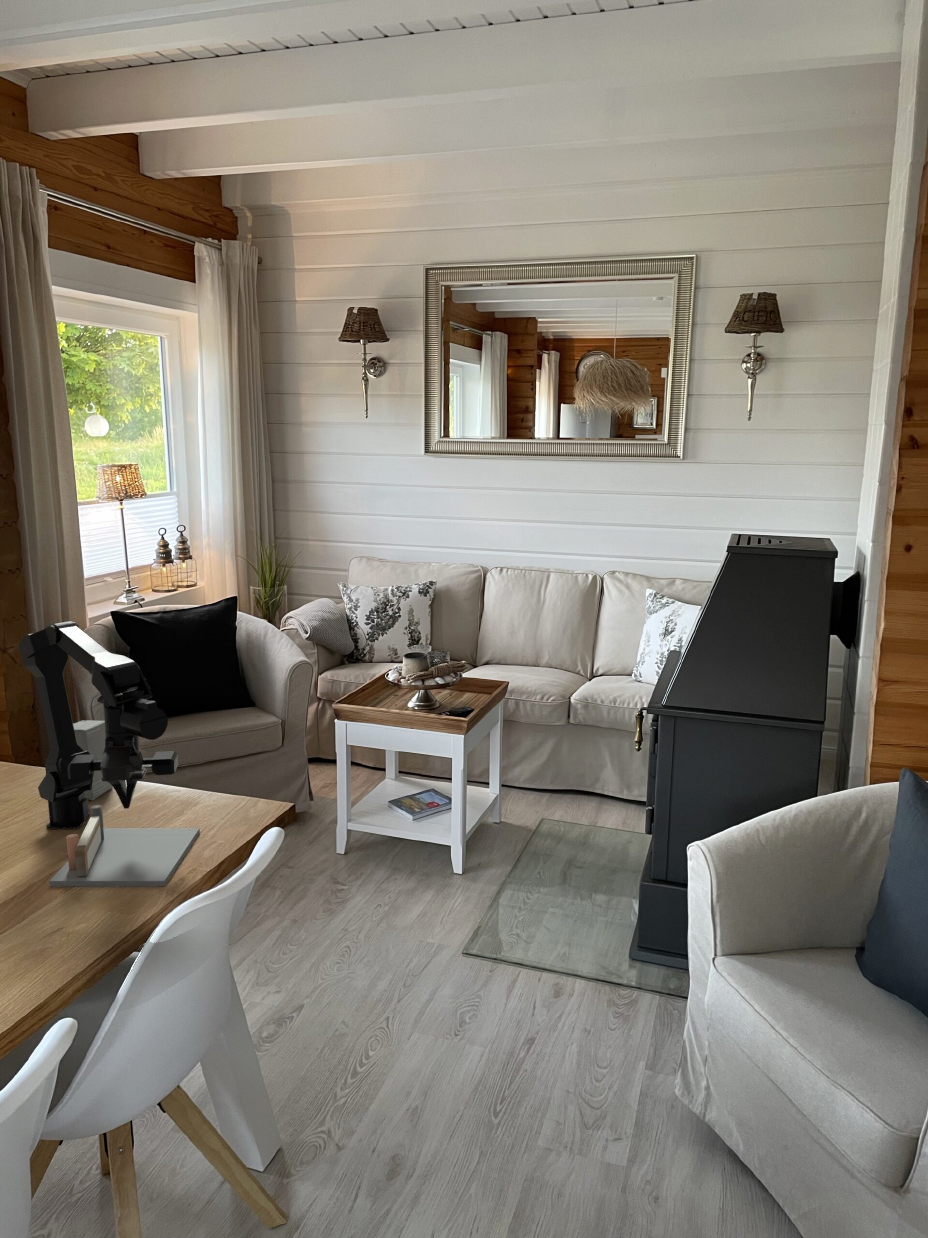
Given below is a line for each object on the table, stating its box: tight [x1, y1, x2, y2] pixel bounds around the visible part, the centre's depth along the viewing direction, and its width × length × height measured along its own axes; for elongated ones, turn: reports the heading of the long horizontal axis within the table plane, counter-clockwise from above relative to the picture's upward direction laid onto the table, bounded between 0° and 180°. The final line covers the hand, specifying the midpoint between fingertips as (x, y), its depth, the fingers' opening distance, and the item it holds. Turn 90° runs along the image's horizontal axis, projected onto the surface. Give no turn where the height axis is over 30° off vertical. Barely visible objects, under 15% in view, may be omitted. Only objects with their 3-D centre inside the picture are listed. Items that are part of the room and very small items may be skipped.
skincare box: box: [73, 719, 114, 801], centre depth 198 cm, size 8×7×16 cm
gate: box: [74, 816, 101, 876], centre depth 165 cm, size 14×2×5 cm, turn 12°
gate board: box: [49, 804, 201, 887], centre depth 168 cm, size 20×22×8 cm
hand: (127, 808), depth 170 cm, fingers closed
